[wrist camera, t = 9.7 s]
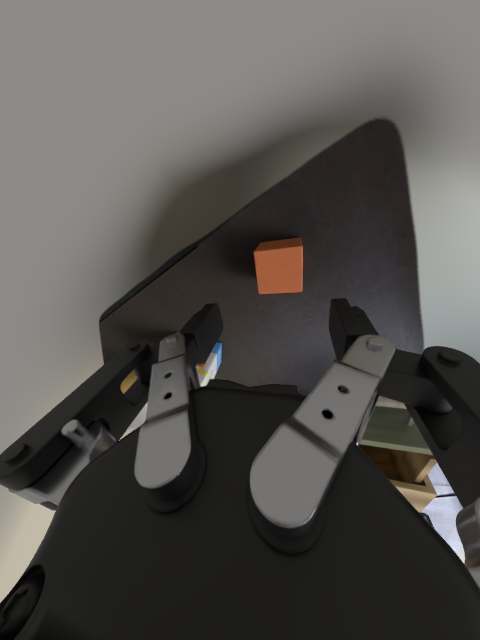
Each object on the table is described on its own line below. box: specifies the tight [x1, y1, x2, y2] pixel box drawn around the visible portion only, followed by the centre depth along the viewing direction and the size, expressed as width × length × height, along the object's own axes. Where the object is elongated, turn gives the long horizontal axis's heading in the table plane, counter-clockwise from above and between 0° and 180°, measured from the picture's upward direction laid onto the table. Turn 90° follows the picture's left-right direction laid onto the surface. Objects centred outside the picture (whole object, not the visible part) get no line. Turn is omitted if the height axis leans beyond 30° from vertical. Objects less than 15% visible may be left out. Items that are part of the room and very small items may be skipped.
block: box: [254, 237, 303, 294], centre depth 21 cm, size 5×5×5 cm
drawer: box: [359, 396, 437, 485], centre depth 28 cm, size 20×11×8 cm, turn 9°
